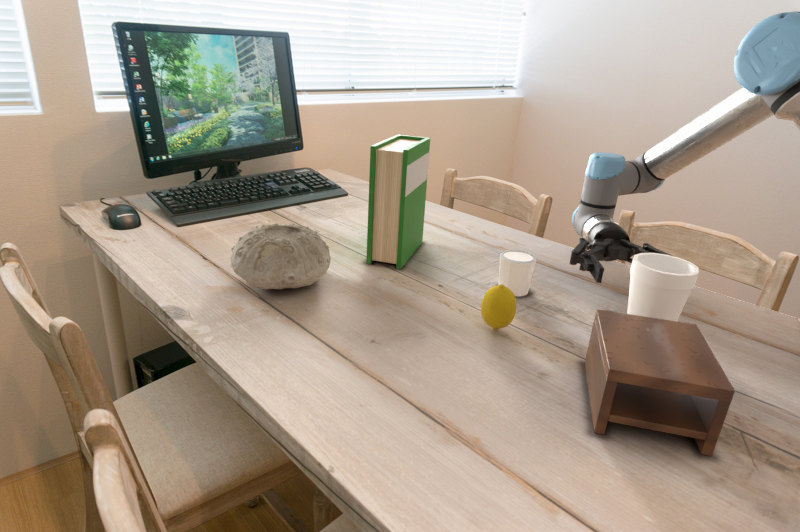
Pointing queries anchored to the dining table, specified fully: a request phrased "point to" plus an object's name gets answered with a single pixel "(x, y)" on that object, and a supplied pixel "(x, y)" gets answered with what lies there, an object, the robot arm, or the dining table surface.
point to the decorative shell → (280, 256)
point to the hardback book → (397, 198)
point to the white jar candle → (516, 270)
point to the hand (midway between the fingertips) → (641, 279)
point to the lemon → (498, 306)
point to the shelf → (656, 378)
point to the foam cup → (660, 285)
